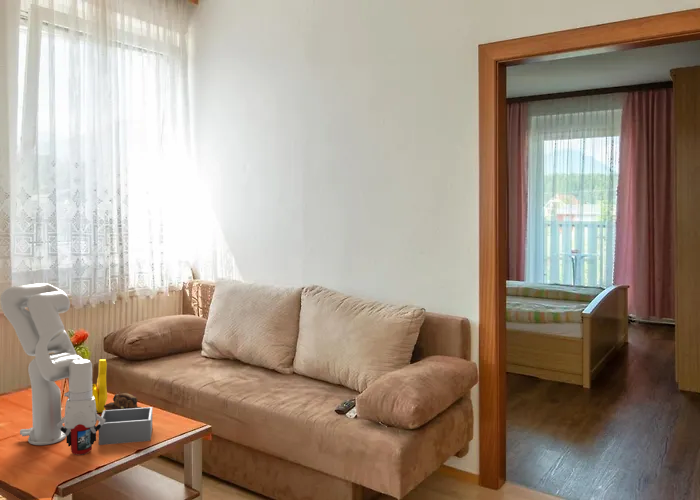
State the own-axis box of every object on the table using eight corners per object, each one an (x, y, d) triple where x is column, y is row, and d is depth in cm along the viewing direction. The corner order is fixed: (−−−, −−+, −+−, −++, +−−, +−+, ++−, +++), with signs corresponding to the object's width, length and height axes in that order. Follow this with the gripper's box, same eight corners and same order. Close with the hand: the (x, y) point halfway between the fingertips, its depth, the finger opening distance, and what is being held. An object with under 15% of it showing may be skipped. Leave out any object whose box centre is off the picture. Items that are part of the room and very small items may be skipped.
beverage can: (83, 457, 205) (83, 423, 204) (66, 455, 206) (66, 421, 205) (96, 449, 211) (95, 416, 210) (79, 447, 213) (78, 415, 212)
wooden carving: (101, 418, 240) (101, 394, 239) (107, 414, 245) (107, 391, 244) (138, 421, 238) (138, 397, 237) (144, 417, 242) (144, 394, 241)
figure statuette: (84, 406, 253) (83, 356, 251) (103, 403, 257) (103, 354, 256) (91, 420, 238) (90, 367, 236) (111, 416, 243) (111, 364, 241)
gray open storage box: (98, 445, 215) (98, 423, 214) (103, 430, 228) (103, 410, 227) (150, 440, 220) (150, 420, 219) (152, 426, 233) (152, 407, 232)
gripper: (51, 400, 201) (52, 450, 202) (105, 396, 206) (106, 446, 207) (55, 393, 208) (56, 441, 210) (108, 390, 213) (109, 437, 214)
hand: (81, 443), depth 208 cm, fingers closed on beverage can, 6 cm apart
